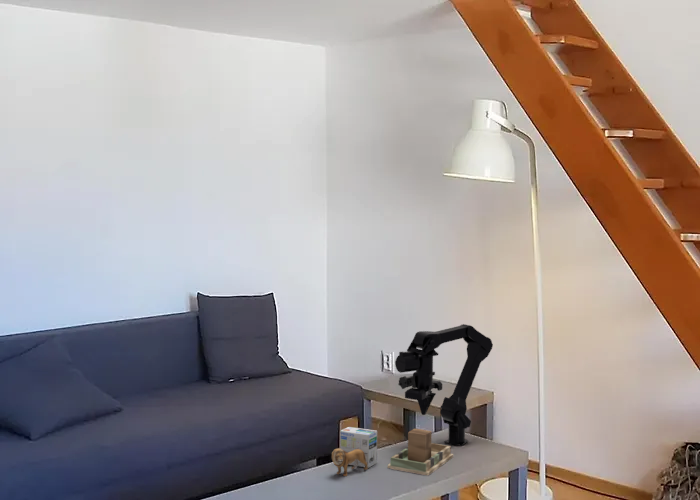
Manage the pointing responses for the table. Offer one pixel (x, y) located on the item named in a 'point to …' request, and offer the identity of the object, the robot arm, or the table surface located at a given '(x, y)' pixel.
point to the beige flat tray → (438, 458)
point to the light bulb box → (360, 443)
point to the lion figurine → (348, 459)
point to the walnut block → (419, 445)
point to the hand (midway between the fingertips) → (423, 414)
